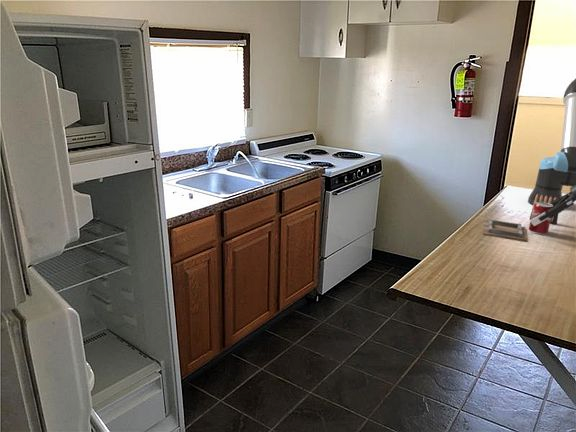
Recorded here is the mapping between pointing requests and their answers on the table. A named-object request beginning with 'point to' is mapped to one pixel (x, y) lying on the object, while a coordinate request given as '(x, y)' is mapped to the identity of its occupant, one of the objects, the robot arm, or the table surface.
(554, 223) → the ammunition clip
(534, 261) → the table surface
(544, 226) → the soda can
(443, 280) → the table surface
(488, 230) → the keeper board
